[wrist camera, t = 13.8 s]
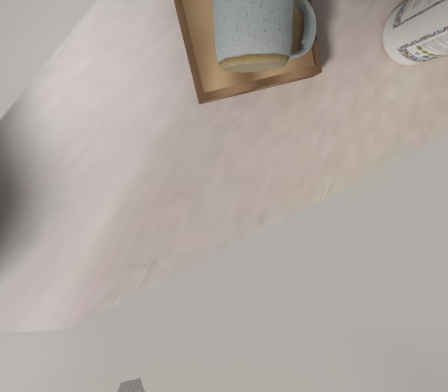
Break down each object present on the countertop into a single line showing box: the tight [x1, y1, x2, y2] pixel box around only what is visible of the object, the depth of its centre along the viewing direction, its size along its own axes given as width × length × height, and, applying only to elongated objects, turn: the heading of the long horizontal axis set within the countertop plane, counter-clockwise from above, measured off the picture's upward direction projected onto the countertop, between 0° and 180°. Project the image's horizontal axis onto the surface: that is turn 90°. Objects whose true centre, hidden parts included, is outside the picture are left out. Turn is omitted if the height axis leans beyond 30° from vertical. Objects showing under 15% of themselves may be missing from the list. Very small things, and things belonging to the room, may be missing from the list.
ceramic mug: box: [212, 0, 316, 73], centre depth 30 cm, size 11×8×8 cm
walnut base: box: [174, 0, 322, 104], centre depth 35 cm, size 14×12×3 cm
